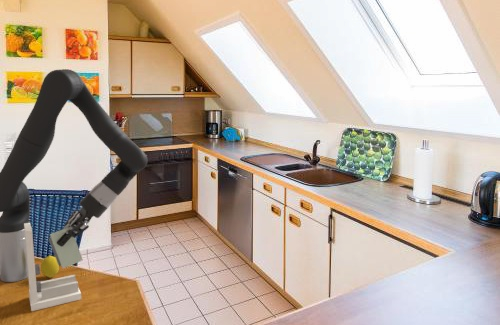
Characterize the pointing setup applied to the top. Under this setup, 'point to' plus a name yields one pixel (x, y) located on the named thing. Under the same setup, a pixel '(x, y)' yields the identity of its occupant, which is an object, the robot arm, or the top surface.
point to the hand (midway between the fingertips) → (58, 242)
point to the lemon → (49, 266)
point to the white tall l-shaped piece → (47, 282)
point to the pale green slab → (65, 249)
